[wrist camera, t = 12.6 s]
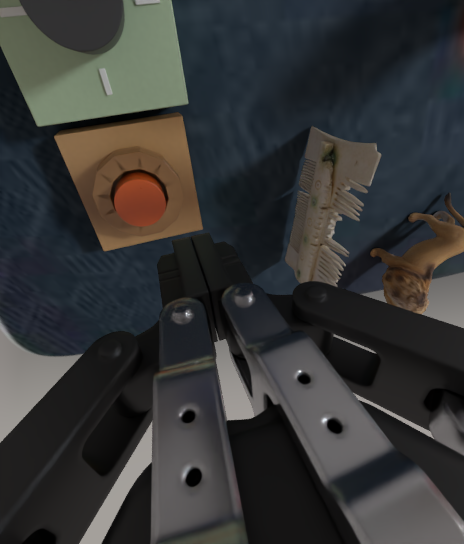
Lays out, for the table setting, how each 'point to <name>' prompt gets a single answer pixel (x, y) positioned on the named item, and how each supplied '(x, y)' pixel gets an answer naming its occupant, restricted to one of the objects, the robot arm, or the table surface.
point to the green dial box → (96, 66)
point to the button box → (130, 159)
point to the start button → (139, 199)
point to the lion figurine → (421, 260)
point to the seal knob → (79, 22)
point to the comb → (327, 203)
